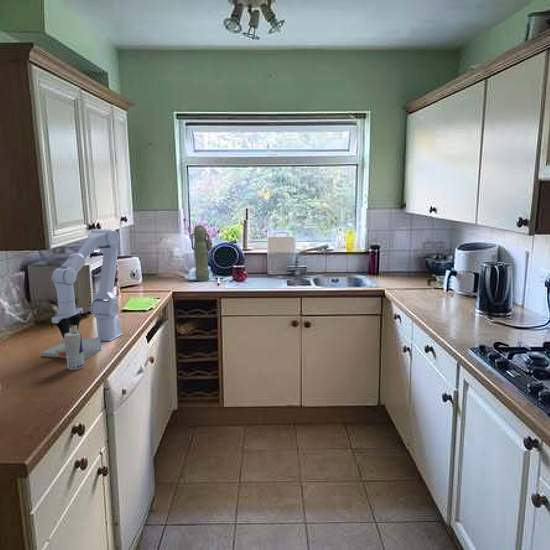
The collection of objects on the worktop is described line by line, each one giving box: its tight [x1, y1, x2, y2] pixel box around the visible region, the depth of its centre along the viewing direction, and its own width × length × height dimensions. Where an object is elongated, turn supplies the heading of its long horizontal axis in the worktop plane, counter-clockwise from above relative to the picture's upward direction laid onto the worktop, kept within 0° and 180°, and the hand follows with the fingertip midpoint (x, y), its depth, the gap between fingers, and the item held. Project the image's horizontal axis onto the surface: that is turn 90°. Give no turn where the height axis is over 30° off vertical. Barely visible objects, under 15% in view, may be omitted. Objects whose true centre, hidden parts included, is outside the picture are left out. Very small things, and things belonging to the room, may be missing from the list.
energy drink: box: [64, 331, 85, 371], centre depth 164 cm, size 5×5×12 cm
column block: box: [60, 325, 77, 344], centre depth 178 cm, size 4×4×6 cm
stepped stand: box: [41, 337, 102, 361], centre depth 179 cm, size 10×18×4 cm, turn 74°
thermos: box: [190, 225, 211, 282], centre depth 311 cm, size 9×12×35 cm
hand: (70, 336), depth 178 cm, fingers closed on column block, 4 cm apart
